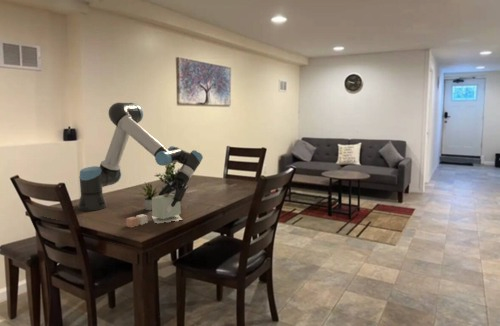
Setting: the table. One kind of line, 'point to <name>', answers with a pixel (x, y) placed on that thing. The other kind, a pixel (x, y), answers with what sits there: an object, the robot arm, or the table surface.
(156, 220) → the mat
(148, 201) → the house plant
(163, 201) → the cover
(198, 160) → the robot arm
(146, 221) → the cube
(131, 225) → the cube
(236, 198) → the table surface
